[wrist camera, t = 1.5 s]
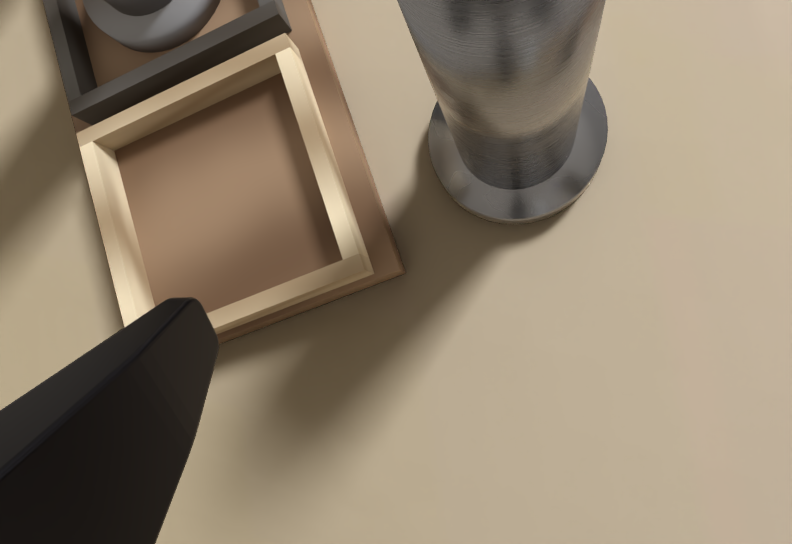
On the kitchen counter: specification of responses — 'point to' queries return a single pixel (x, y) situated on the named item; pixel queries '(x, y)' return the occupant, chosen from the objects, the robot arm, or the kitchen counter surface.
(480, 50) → the grey cylindrical piece
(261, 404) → the kitchen counter surface
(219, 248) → the pin board
